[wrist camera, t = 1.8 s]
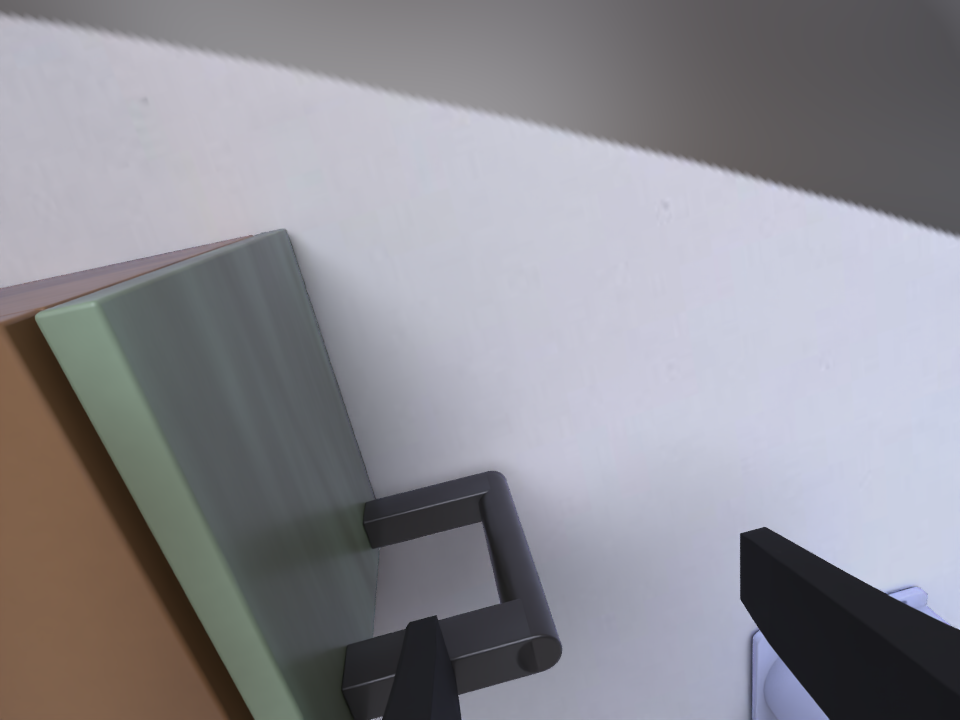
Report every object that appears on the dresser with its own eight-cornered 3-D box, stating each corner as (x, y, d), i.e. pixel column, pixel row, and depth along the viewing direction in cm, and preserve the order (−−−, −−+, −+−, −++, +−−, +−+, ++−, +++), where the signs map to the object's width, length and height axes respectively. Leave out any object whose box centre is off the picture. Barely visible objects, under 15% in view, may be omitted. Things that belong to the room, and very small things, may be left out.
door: (442, 194, 16) (497, 212, 6) (505, 487, 20) (594, 766, 11) (261, 232, 16) (28, 314, 6) (362, 523, 20) (321, 845, 10)
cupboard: (254, 234, 16) (-3, 322, 6) (356, 522, 20) (308, 859, 10) (-72, 303, 15) (-980, 533, 5) (104, 586, 19) (-214, 1012, 9)
